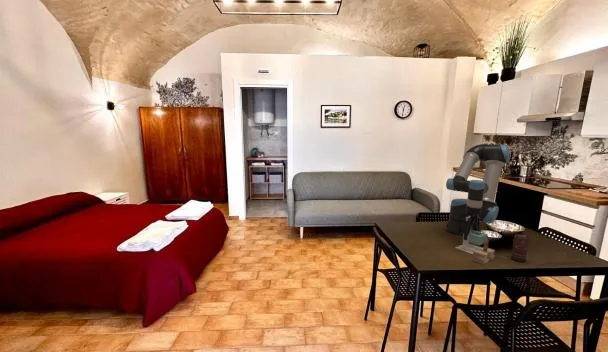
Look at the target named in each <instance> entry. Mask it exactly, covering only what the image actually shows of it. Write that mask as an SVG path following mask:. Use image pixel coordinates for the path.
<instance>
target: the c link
mask: <svg viewBox="0 0 608 352" xmlns="http://www.w3.org/2000/svg"><path fill="white" fill-rule="evenodd" d="M488 236H489V234H488V233H486V232H482V231H480V232H479V231H475V230H473V228H471V229H470V232H469V242H468V243H469V244H472V245H475V246H481V245H484V241H485V239H488ZM463 237H464V234H463V235H462V238H463Z"/></svg>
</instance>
